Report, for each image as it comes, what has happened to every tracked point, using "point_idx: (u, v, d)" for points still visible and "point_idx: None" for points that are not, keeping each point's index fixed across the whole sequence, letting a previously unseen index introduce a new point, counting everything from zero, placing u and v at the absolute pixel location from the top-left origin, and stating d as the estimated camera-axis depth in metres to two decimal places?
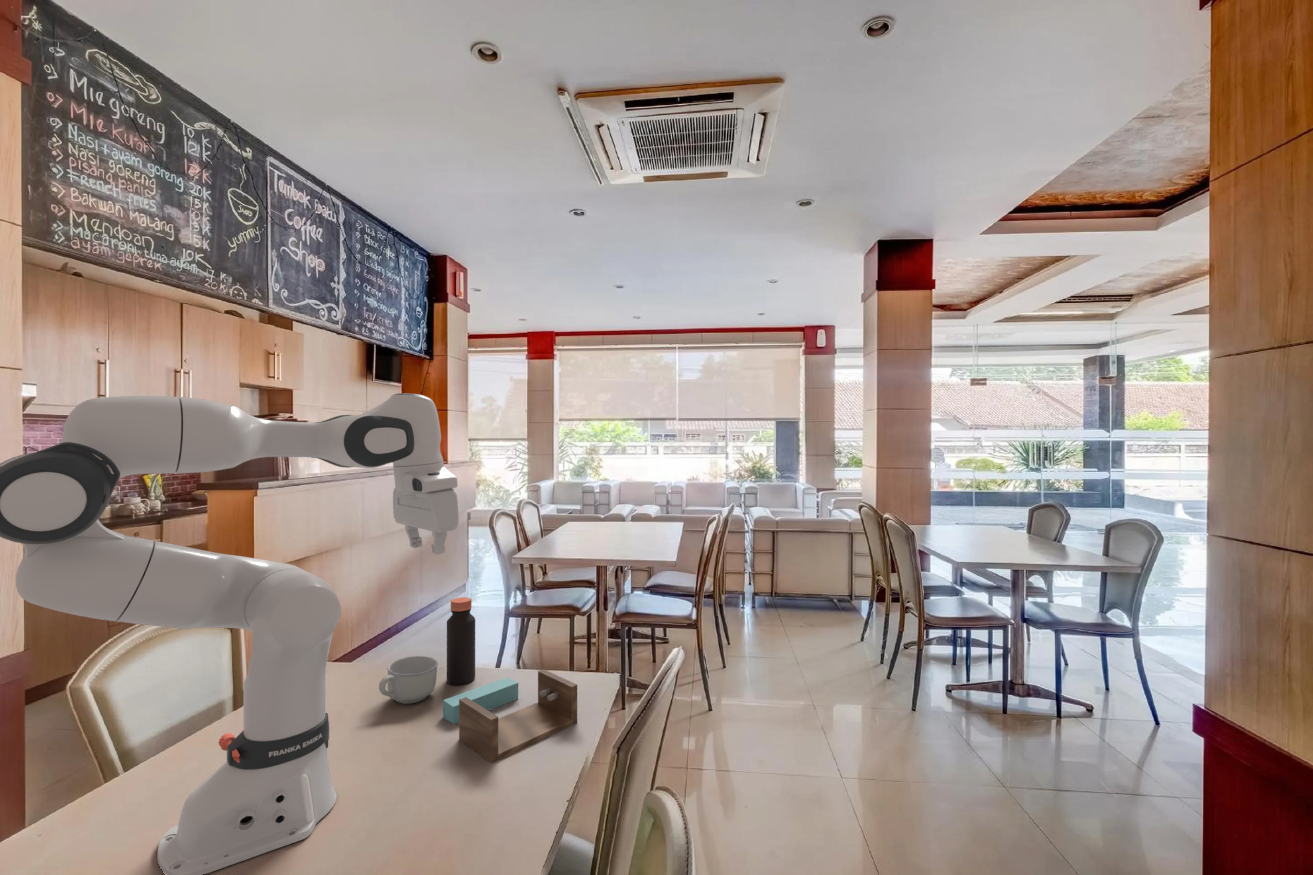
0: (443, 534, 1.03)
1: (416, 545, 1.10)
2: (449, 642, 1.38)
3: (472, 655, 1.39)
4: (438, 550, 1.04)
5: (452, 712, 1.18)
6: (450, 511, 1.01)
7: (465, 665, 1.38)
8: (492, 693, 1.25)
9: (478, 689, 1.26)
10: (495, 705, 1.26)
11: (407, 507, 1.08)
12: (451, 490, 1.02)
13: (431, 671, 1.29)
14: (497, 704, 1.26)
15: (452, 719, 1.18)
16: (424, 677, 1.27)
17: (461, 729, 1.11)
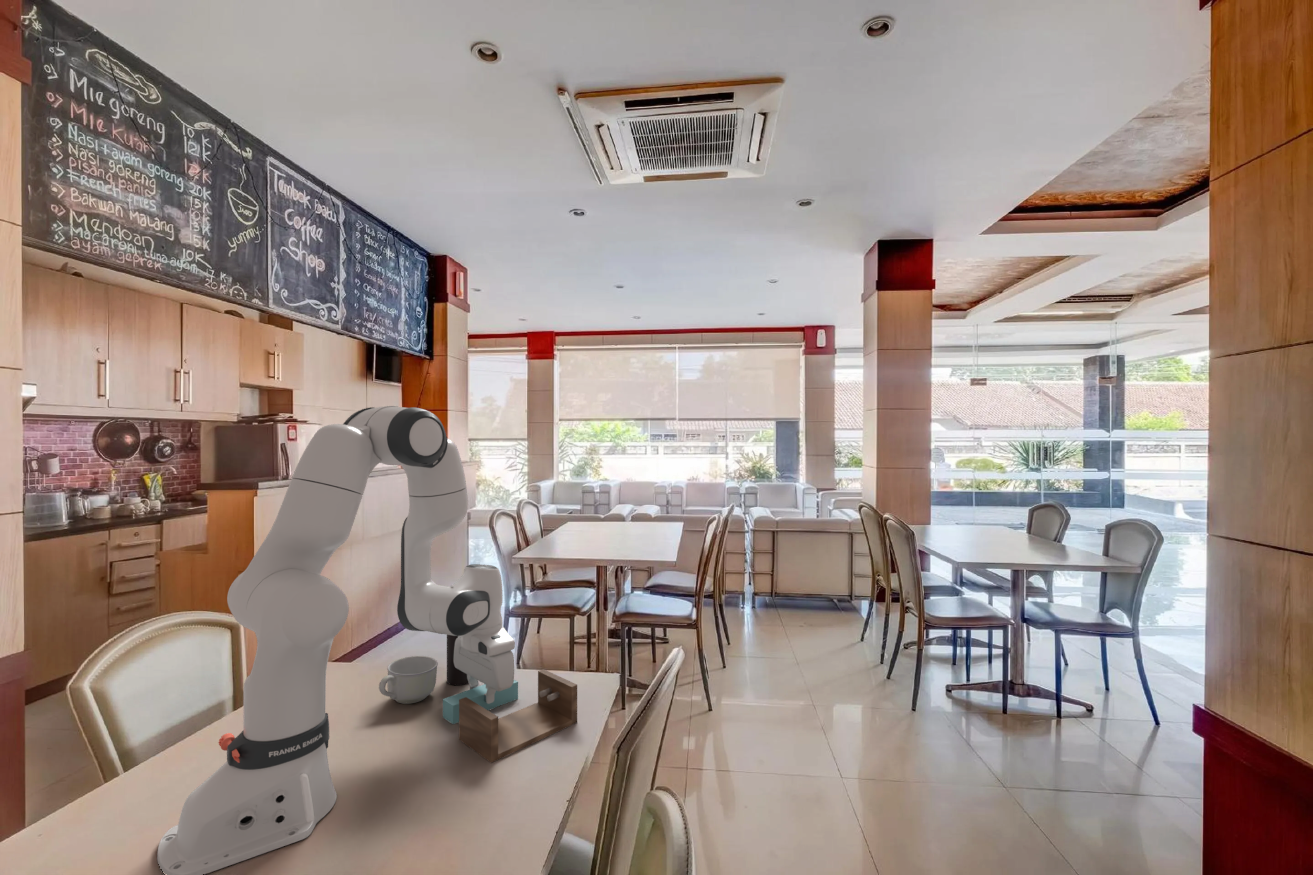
0: None
1: None
2: (449, 642, 1.38)
3: None
4: (489, 700, 1.23)
5: (452, 711, 1.18)
6: (508, 672, 1.20)
7: None
8: None
9: (478, 688, 1.26)
10: (495, 704, 1.26)
11: (468, 659, 1.26)
12: (509, 652, 1.21)
13: (431, 670, 1.29)
14: (497, 703, 1.26)
15: (452, 718, 1.18)
16: (424, 677, 1.27)
17: (461, 729, 1.11)
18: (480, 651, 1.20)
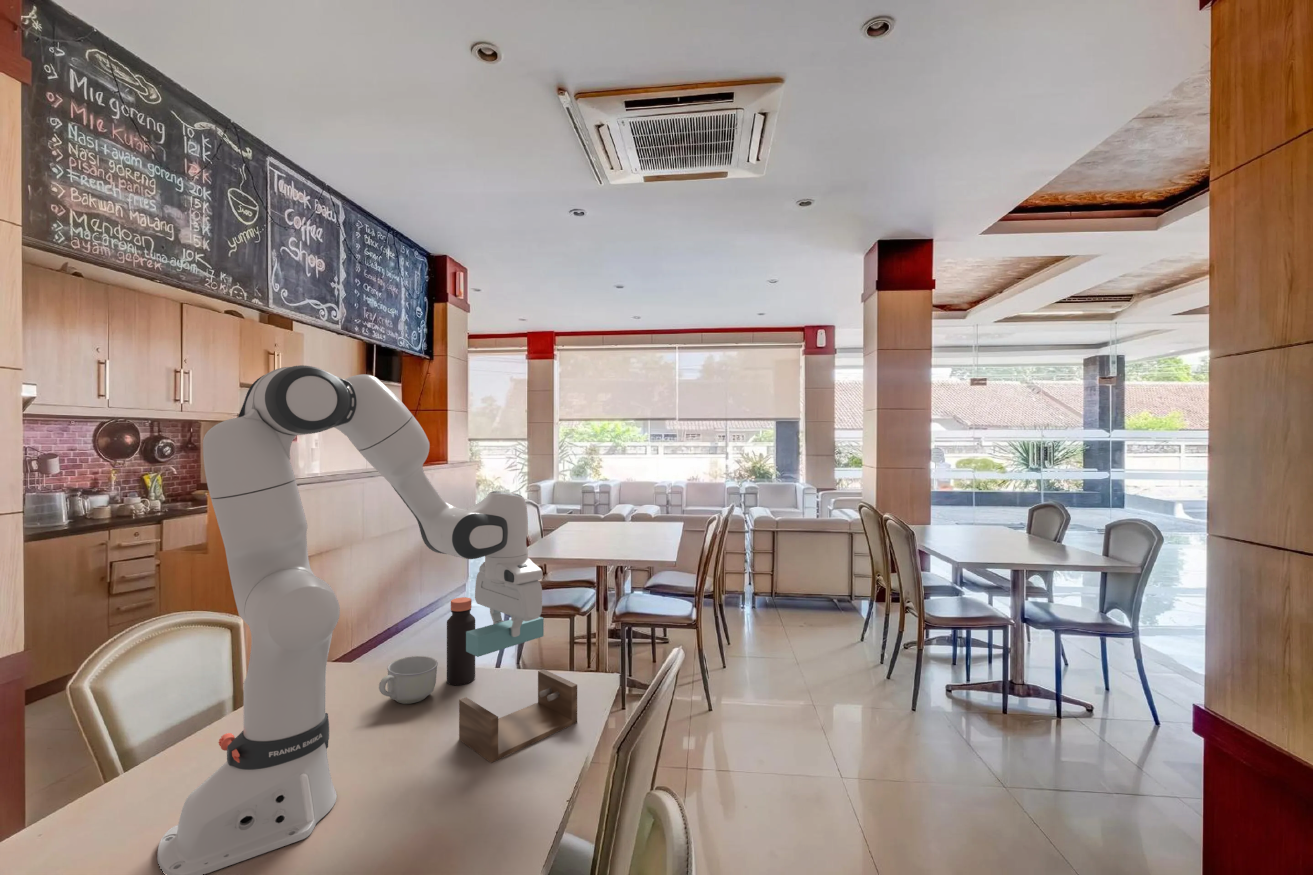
0: (521, 619, 1.16)
1: None
2: (449, 642, 1.38)
3: (472, 655, 1.39)
4: (515, 633, 1.16)
5: (476, 643, 1.12)
6: (536, 601, 1.13)
7: (465, 665, 1.38)
8: None
9: (502, 623, 1.20)
10: (520, 639, 1.19)
11: (492, 592, 1.20)
12: (537, 582, 1.15)
13: (431, 670, 1.29)
14: (522, 639, 1.19)
15: (476, 650, 1.12)
16: (424, 677, 1.27)
17: (461, 729, 1.11)
18: (506, 579, 1.13)
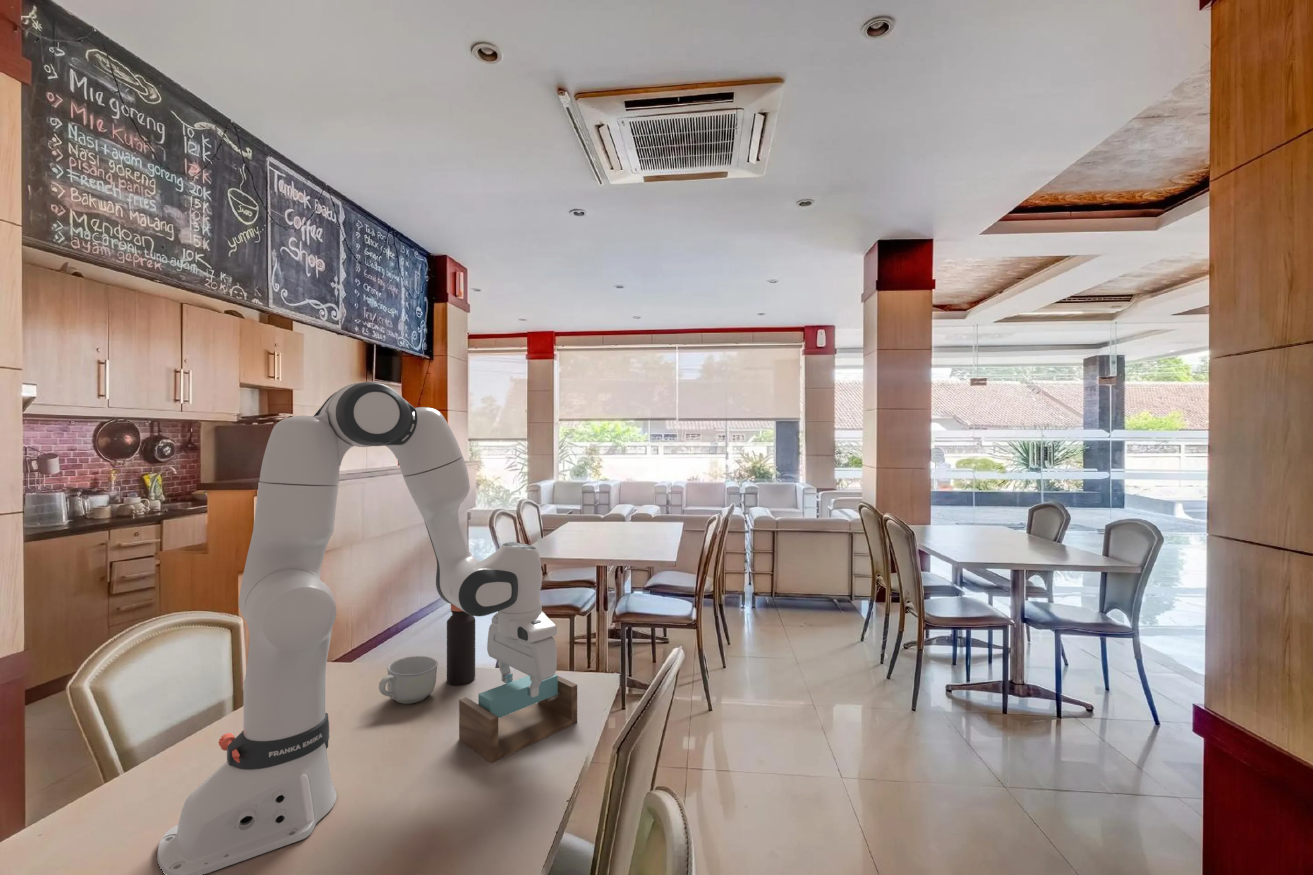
0: None
1: (507, 681, 1.18)
2: (449, 642, 1.38)
3: (472, 655, 1.39)
4: (533, 693, 1.12)
5: (489, 707, 1.08)
6: (551, 659, 1.09)
7: (465, 665, 1.38)
8: None
9: (515, 682, 1.16)
10: (534, 699, 1.16)
11: (504, 646, 1.16)
12: (551, 638, 1.11)
13: (431, 671, 1.29)
14: (536, 699, 1.16)
15: None
16: (424, 677, 1.27)
17: (461, 729, 1.11)
18: (520, 637, 1.10)
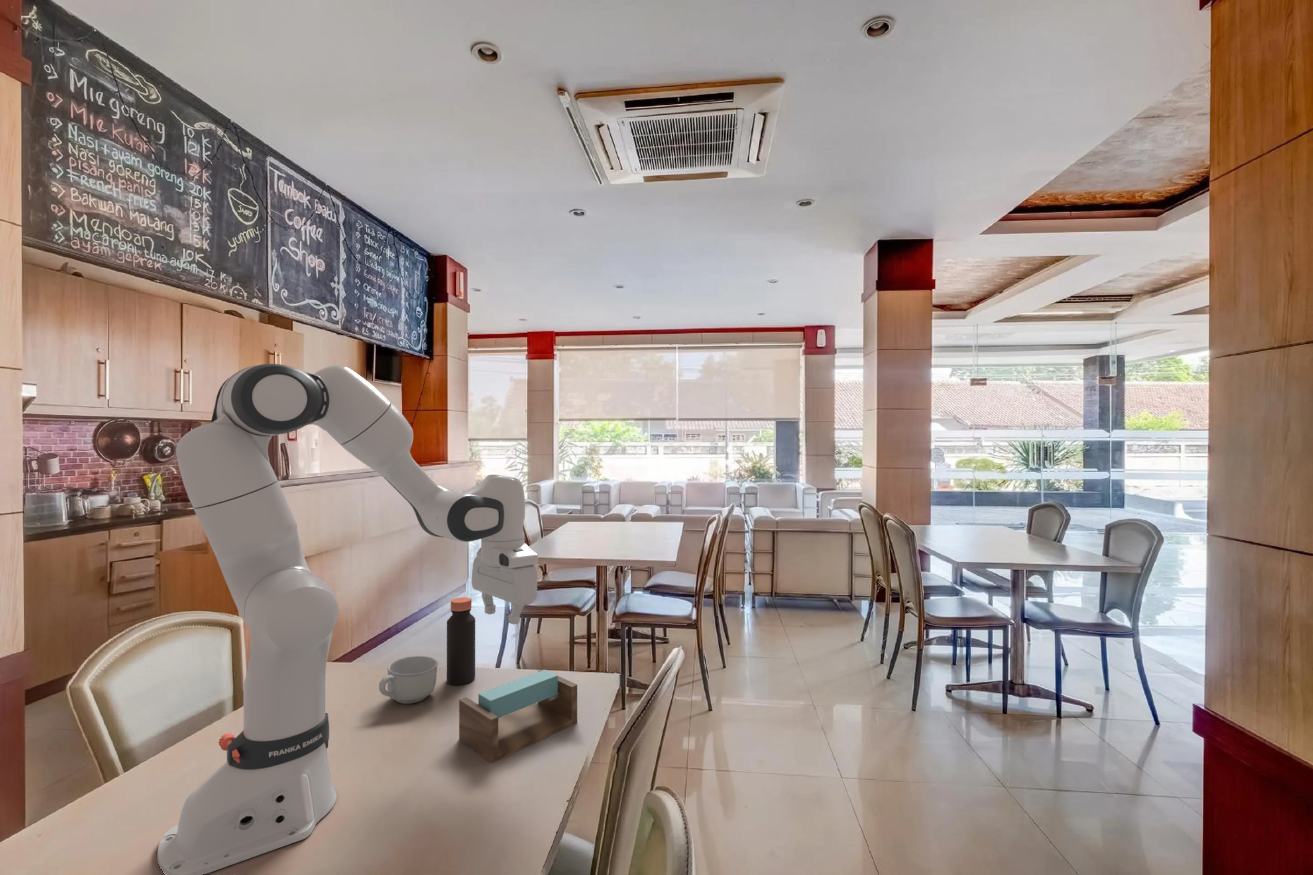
0: (520, 606, 1.13)
1: (490, 612, 1.20)
2: (449, 642, 1.38)
3: (472, 655, 1.39)
4: (514, 620, 1.14)
5: (489, 707, 1.08)
6: (531, 586, 1.11)
7: (465, 665, 1.38)
8: (531, 686, 1.15)
9: (515, 682, 1.16)
10: (534, 699, 1.16)
11: (487, 577, 1.18)
12: (532, 566, 1.13)
13: (431, 671, 1.29)
14: (536, 699, 1.16)
15: None
16: (424, 677, 1.27)
17: (461, 729, 1.11)
18: (501, 563, 1.12)
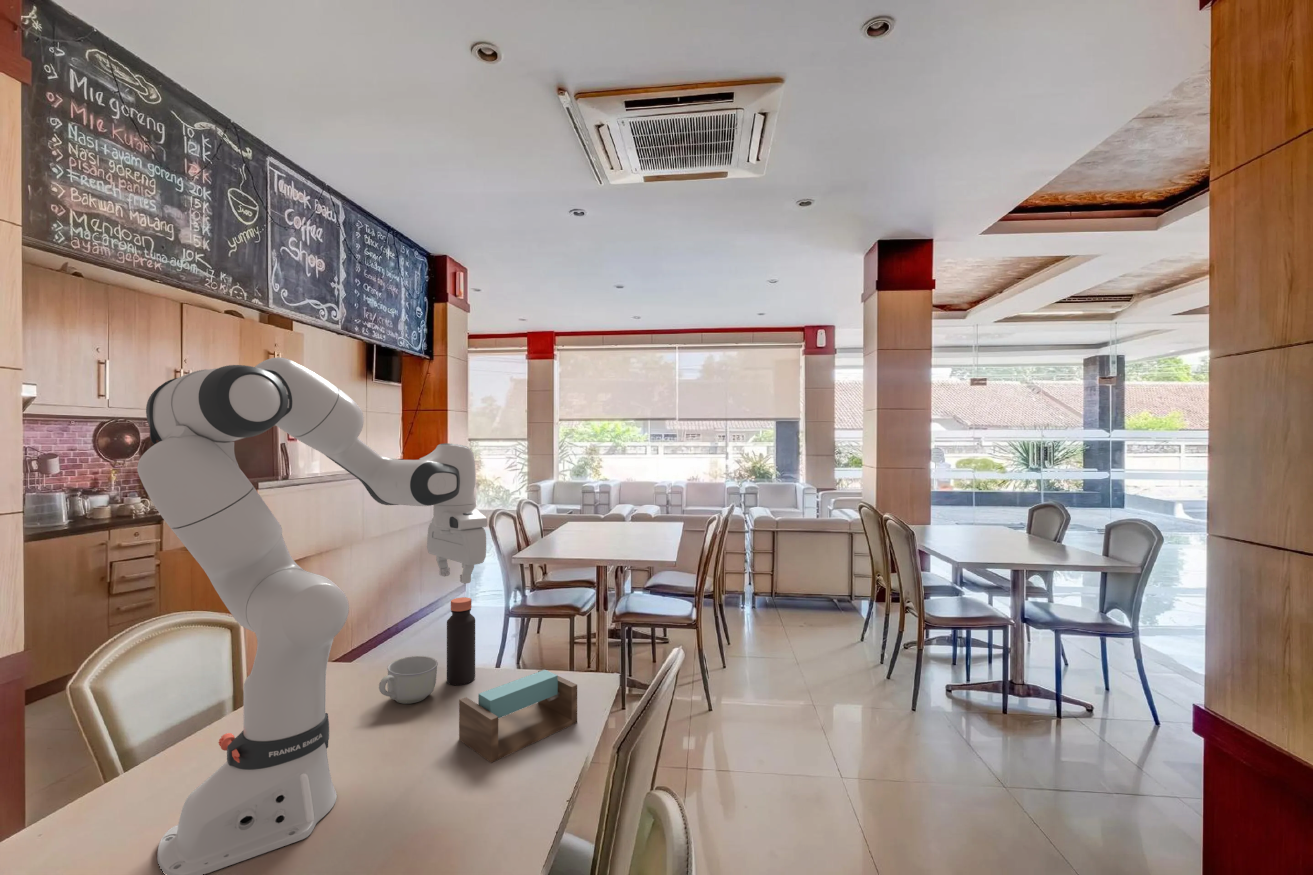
0: (471, 566, 1.20)
1: (445, 574, 1.27)
2: (449, 642, 1.38)
3: (472, 655, 1.39)
4: (465, 580, 1.20)
5: (489, 707, 1.08)
6: (480, 546, 1.18)
7: (465, 665, 1.38)
8: (531, 686, 1.15)
9: (515, 682, 1.16)
10: (534, 699, 1.16)
11: (441, 540, 1.25)
12: (481, 529, 1.20)
13: (431, 671, 1.29)
14: (536, 699, 1.16)
15: None
16: (424, 677, 1.27)
17: (461, 729, 1.11)
18: (451, 526, 1.18)
